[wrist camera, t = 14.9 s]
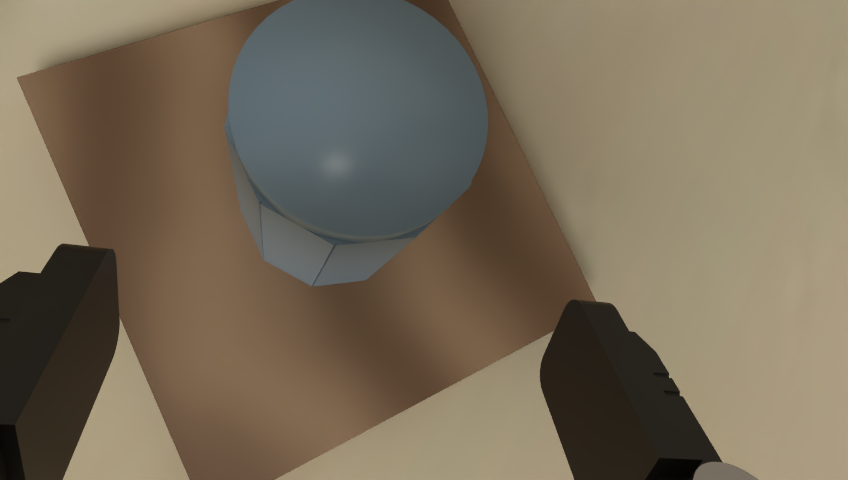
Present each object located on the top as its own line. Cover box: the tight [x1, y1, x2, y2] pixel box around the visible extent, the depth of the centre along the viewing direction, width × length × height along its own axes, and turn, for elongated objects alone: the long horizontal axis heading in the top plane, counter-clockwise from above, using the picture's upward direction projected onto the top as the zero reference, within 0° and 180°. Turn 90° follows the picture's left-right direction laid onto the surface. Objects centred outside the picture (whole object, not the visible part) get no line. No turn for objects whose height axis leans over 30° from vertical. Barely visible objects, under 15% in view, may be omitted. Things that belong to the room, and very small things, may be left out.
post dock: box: [17, 0, 596, 480], centre depth 20 cm, size 16×16×8 cm
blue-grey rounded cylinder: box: [224, 0, 488, 287], centre depth 19 cm, size 6×6×9 cm
